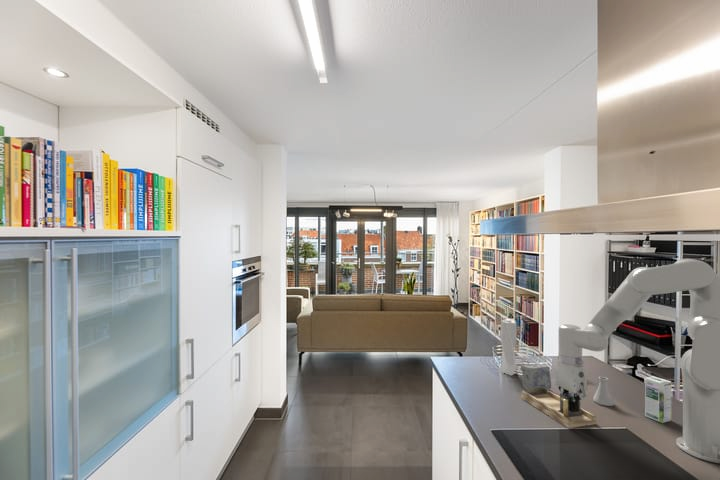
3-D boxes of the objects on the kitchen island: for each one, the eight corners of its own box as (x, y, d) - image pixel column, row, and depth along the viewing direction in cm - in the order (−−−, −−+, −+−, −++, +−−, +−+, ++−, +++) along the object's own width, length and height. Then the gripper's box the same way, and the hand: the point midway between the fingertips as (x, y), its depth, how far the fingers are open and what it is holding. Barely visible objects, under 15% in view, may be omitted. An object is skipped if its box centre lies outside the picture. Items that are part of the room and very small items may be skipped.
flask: (618, 407, 137) (618, 382, 137) (597, 405, 138) (597, 380, 139) (609, 399, 144) (609, 375, 144) (589, 397, 146) (589, 373, 146)
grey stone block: (537, 383, 160) (537, 361, 160) (552, 391, 152) (552, 367, 152) (519, 385, 157) (519, 362, 158) (533, 393, 149) (533, 369, 150)
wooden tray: (596, 424, 124) (596, 398, 125) (568, 428, 122) (568, 402, 122) (545, 395, 148) (545, 374, 148) (521, 398, 145) (521, 376, 145)
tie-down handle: (582, 415, 128) (582, 395, 128) (564, 417, 126) (564, 397, 126) (575, 411, 131) (575, 392, 131) (557, 413, 129) (557, 394, 129)
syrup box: (644, 416, 130) (644, 377, 130) (654, 413, 132) (653, 375, 132) (662, 423, 125) (662, 383, 125) (672, 420, 127) (672, 380, 127)
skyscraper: (496, 372, 174) (496, 316, 174) (503, 368, 179) (503, 314, 179) (512, 376, 168) (512, 318, 168) (519, 372, 173) (519, 316, 173)
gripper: (598, 366, 121) (598, 419, 121) (561, 351, 137) (561, 398, 137) (580, 367, 119) (580, 421, 119) (544, 352, 135) (544, 400, 135)
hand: (570, 408), depth 128 cm, fingers closed on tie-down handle, 3 cm apart
